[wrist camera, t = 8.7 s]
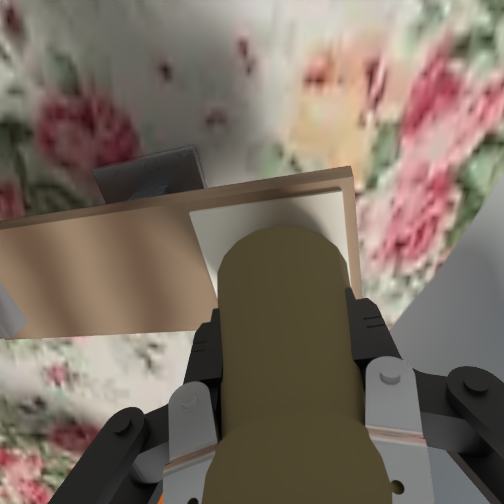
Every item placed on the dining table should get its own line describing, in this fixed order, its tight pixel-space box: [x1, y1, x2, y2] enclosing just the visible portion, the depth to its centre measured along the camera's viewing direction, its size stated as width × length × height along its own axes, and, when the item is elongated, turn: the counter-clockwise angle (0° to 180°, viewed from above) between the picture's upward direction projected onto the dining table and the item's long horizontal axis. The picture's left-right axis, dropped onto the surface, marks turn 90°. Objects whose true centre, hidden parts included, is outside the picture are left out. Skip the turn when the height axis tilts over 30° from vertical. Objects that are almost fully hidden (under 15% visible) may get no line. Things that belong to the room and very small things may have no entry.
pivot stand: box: [91, 145, 207, 204], centre depth 23 cm, size 10×7×6 cm
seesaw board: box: [0, 166, 362, 340], centre depth 19 cm, size 24×8×3 cm, turn 102°
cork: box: [197, 225, 403, 504], centre depth 11 cm, size 6×6×11 cm
